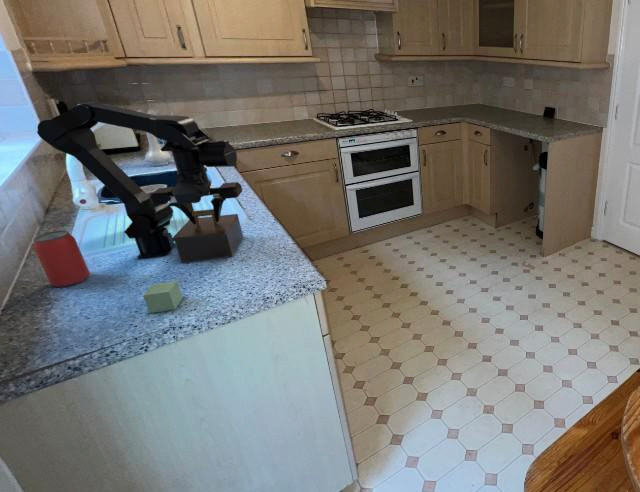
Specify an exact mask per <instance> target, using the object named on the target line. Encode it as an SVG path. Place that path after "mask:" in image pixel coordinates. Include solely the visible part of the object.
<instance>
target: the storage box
mask: <svg viewBox="0 0 640 492" xmlns="http://www.w3.org/2000/svg"><path fill="white" fill-rule="evenodd" d="M243 239H244V234H243V230H242V226H241V223H240V218H239V216H238V217H237V219H236V220H235V222H234V223H233V225H232V226H231V228H230V229H229V231H228V232H227V233H226V235H221V236H213V237H204V238H195V239H186V240H178V241H174V243H175V244H176V245H175V247H176V250H177V253H178V257H179V258H180V262H181V264H185V263H192V262H199V261H207V260H214V259H216V260H217V259H224V258H230V257H231V258H232V257H234V255H235V253H236V251H237V249H238V248H239V246H240V244H241V242H242V241H243Z"/></svg>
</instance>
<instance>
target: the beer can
mask: <svg viewBox="0 0 640 492" xmlns="http://www.w3.org/2000/svg"><path fill="white" fill-rule="evenodd" d="M33 241H34V242H33V250H34V252H35V254H36V256H37V259H38V260H39V262H40V265H41V267H42V269H43V271H44V273H45V275H46V278H47V279H48V282H49V284H50V285H51V286H53V287H57V288H62V287H68V286H72V285H73V286H74V285H76V284H79V283H81V282H84V281H85V280H87V279H88V278H89V276H90V275H91V272H90V270H89V268H88V265H87V263H86V261H85V259H84V256H83V254H82V252H81V249H80V247H79V245H78V242H77V240H76V238H75V237H74V236H73V235H72V234H71V233H70V231H68V230H63V229H62V230H54V231H53V230H52V231H49V232H44V233H42V234H39V235H37V236H35V237H34V238H33Z"/></svg>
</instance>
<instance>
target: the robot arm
mask: <svg viewBox="0 0 640 492" xmlns="http://www.w3.org/2000/svg"><path fill="white" fill-rule="evenodd" d="M147 113H148V112H147ZM147 113H146V112H144V113H142V111H141V112H137V110H133V109H128V108H123V107H119V106H114V105H110V104H109V105H108V104H105V103H101V102H98V101H88V102H82V103H78V104H76V105H75V106H73V107H72V108H71V109H69V110H67V111H64V112H63V113H61V114H58V115H56V116H54V117H52V118H47V119H44V120H41V121H39V122H38V124H37V130H36V133H37V135H38V137H39V138H40V139H41V140H42V141H44V142H45V143H47V144H48V145H49V146H51V147H52V148H54V149H55V150H57V151H60V152H61V153H65V154H67V155H70V156H72V157H73V158H75V159H76V160H77V161H78V162H79V163H80V164H82V165H83V167H84V168H85V169H87V171H89V172H90V173H91V174H92V175H93V176H94V177H95V178H96V179H97V180H98V181H99V182H101V184H103V185H104V186H105V187H106V188H107V189H108V190H109V191H110V192H111V193H112V194H113V195H114V196H115V197H117V199H118V200H120V202H122V204H123V205H124V209H125V214H126V216H127V217H128V219H129V220H130V222H131V223H130V224H129V225H128V227H127V228H126V229H125V230H124V234H125V235H126V236H127V237H128V238H129V239H134V241H135V244H136V247H137V249H138V252H139V254H138V255H136V256H137V259H145V258H153V257H161V256H167V255H169V253H170V252H171V251H172V250H173V249H174V248H175V247H176V244H175V241H173V240H172V238H173V235H172V233H171V232H169V230H168V228H167V226H169V225H170V224H171V219H173V216H174V210H173V208H172V207H174V208H177V209H179V210H180V211H181V212H182V213H183V214H184V215H185V216H186V217H187V219H188V220H190V221H191V222H192V223H193V224H196V222H195V219H194V217H193V216H192V211H195V209H194V206H193V204H198V203H200V202H201V201H202V198H203V197H208V196H212V199H211V200H210V203H211V205H212V209H214V215H215V219H216V222H219V220H220V216H221V215H222V210H223V209H222V208H223V206H224V205H223V204H224V202H225V201H226V200H227V199H236V198H238V197H239V196H240V195H241V194H242V192H243V187H242V184H241V183H239V182H238V181H234V182H223V183H222V184H221V185H220V186H218V187H211V186H212V182H211V181H209V177H208V173H207V172H208V168H231V167H235V166H236V164H237V161H238V154H237V150H235V148H234V146H233V145H232V144H230V141H229V140H228V139H220V140H213V138H212V137H211V136H209V135H208V134H207V133H206V132H205V131H204V130H203V129H202V128H200V127H199V125H198V124H197V122H196V121H195V120H194V118H193V117H190V116H187V115H173V114H172V115H171V114H164V115H162V114H161V115H151V114H147ZM98 123H102V124H105V125H111V126H116V127H120V128H125V129H131V130H135V131H140V132H144V133H146V132H148V133H150V134H152V135H154V136H155V137H157V138H159V139H162V140H165V141H167V142H166V144H165V145H164V146H163V147H162V148H161V149H160V150H161V151H171V152H172V155H171V156H172V158H173V161H174V165H175V168H176V172H177V174H176V180H177V181H176V182H177V183H176V184H175V186H169V187H168V186H167V187H166V188H159V189H157V190H156V191H155V192H153V193H152V194H151V195H150V194H148V193H146V192H144V191H143V190H142V189H141V188H140V187H141V186H139V185H138V184H137V183H136V182H135V181H134V180H133V179H132V178H131V177H130V176H129V175H128V174H127V173H126V172H125V171H123V169H121V167H119V165H117V163H115V161H113V159H111V158H110V157H109V156H108V155H107V154H106V153H105V151H103V150H102V149H101V148H100V146H99V145H98V143H97V139H96V135H95V133H94V132H93V130H92V128H94V127H95V126H97V125H98Z"/></svg>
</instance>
